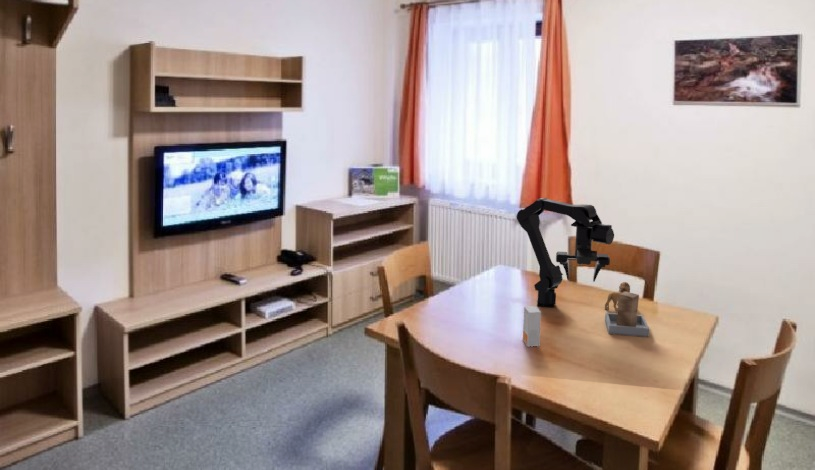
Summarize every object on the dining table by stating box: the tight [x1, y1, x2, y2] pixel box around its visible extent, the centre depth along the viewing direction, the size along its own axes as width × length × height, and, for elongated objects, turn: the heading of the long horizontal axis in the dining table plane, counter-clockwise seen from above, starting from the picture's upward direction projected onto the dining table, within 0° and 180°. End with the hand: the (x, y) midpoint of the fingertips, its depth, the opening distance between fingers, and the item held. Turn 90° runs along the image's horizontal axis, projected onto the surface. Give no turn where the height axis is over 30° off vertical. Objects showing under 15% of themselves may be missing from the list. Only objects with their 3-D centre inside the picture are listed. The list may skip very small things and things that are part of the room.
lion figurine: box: [604, 281, 631, 312], centre depth 237 cm, size 15×5×9 cm, turn 135°
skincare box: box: [522, 305, 542, 348], centre depth 202 cm, size 6×4×12 cm
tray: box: [604, 312, 650, 338], centre depth 216 cm, size 13×13×3 cm
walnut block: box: [617, 291, 640, 327], centre depth 215 cm, size 5×4×12 cm
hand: (580, 280), depth 228 cm, fingers open, 9 cm apart
